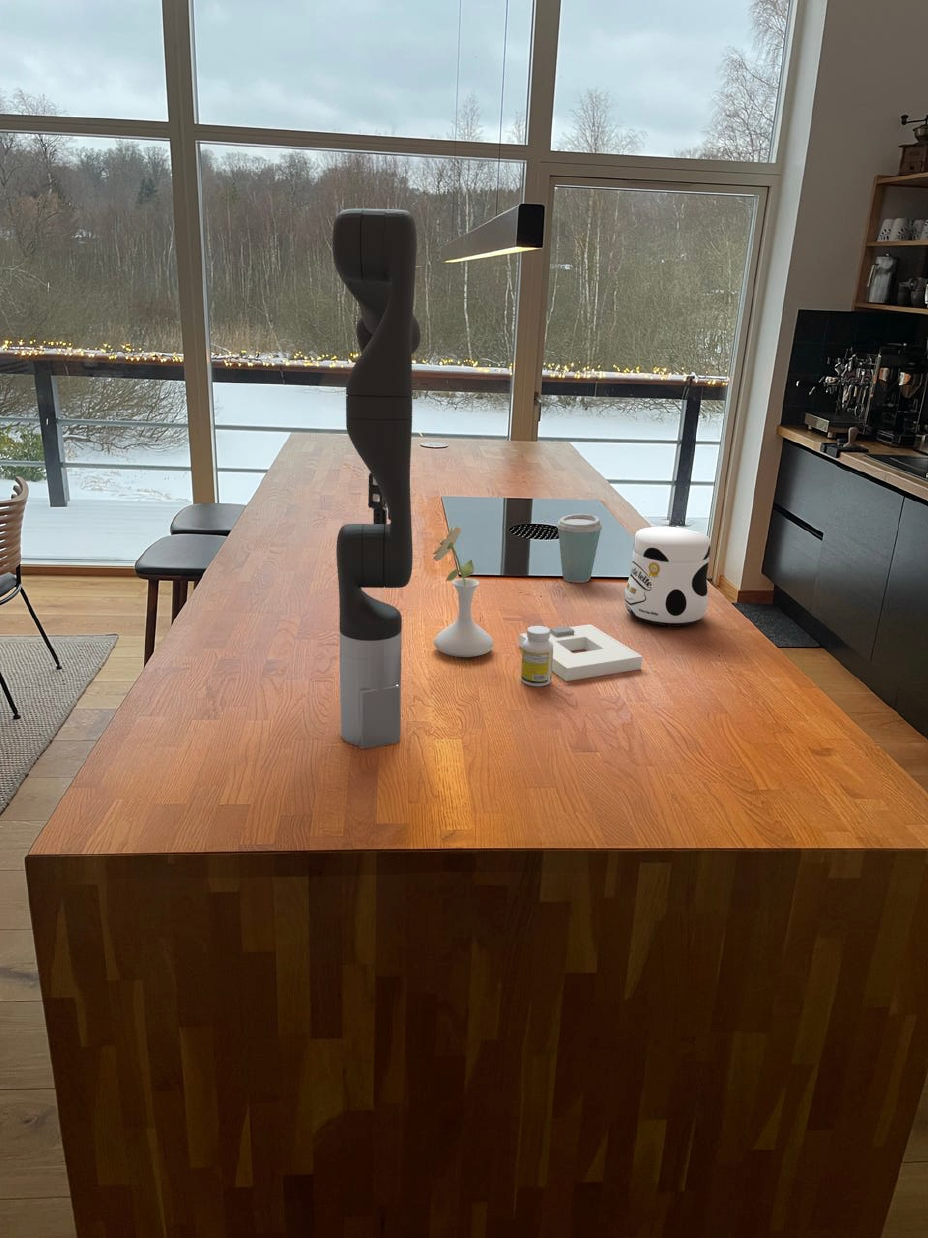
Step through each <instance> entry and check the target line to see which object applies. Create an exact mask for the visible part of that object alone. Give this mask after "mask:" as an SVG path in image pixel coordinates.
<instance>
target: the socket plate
mask: <svg viewBox="0 0 928 1238" xmlns="http://www.w3.org/2000/svg"><path fill="white" fill-rule="evenodd" d="M549 629H550V638H549V640H550V641H551V642H552V643H553V661H552V673H554V674H556V675H557V676H558V677H559V678H561V679H562V680H563V681H565V682H569V681H576V680H583V679H589V678H593V677H594V678H595V677H599V676H606V675H612V674H618V673H625V672H631V671H637V670H641V669H642V663H643V656H642V655H641V654H639V653H637V652H636V651H634V650H633V649H631V648H629V647H628V646H626V645H625V644H623V643H622V642H620V641H618V640H617V639H615V638H613V637H612V636H610V635H609V634H607V633H605V632H603V631H602V630H600V629H599V628H597V627H595V626H594V625H592V624H590V623H589V624H582V625H576V626H575V625H574V626H559V627H553V628H552V627H551V628H549ZM518 638H519V639H518V640H519V641H518V647H520V648H521V649H522V646H523V642H524V641H525V640H526V639H528V638H527V632H525V633H519V637H518ZM580 650H585V651H581V652H572V651H580Z"/></svg>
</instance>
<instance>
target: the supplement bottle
mask: <svg viewBox="0 0 928 1238" xmlns="http://www.w3.org/2000/svg"><path fill="white" fill-rule="evenodd" d="M550 629H551V628H550V627H549V628H548V627H546V626H543V625H532V626H529V627H528V628H527V629H526V633H527V638H528V639H526V640H525V641H524V642H523V646H522V648H521V669H520V670H521V673H520V679H521V681H522V683H523V684H524V685H527V686H530V687H544V686H547V685H549V684H551V682H552V676H553V671H552V661H553V643H552V642H551V641H550V640H549V638H550Z"/></svg>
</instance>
